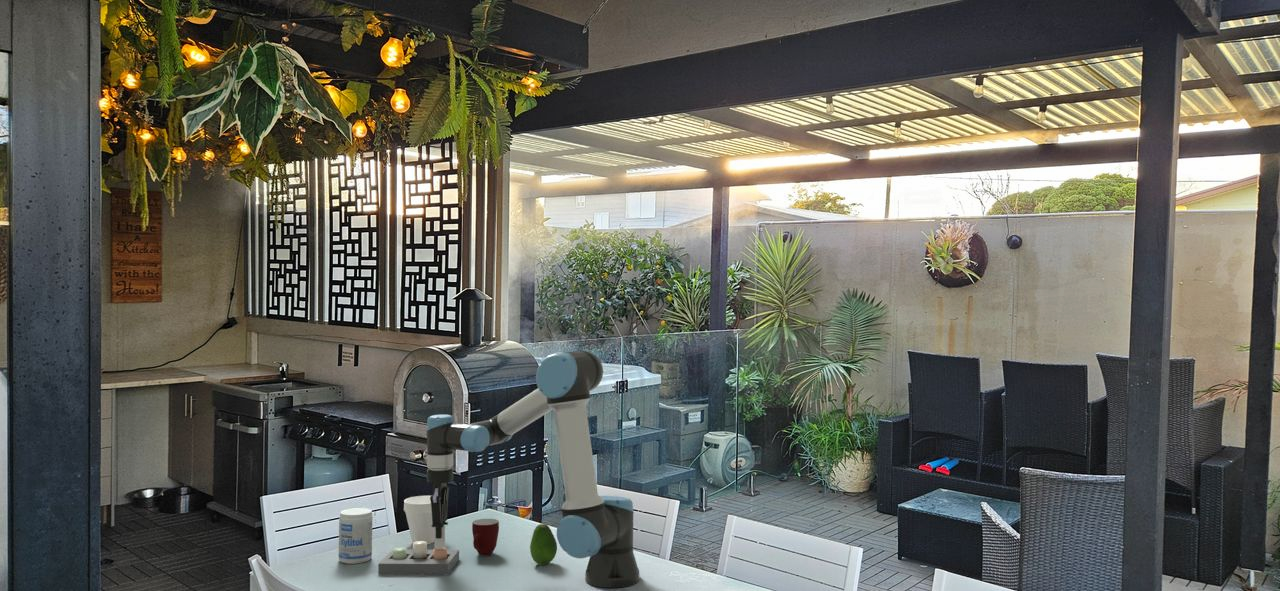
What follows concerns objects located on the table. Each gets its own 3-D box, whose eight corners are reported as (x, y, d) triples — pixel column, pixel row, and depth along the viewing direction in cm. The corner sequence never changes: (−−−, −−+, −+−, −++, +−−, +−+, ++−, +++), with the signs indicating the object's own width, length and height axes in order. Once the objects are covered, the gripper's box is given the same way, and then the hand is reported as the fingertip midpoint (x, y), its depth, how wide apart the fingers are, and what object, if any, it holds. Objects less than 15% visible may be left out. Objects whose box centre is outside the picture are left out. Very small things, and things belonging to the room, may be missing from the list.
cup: (396, 545, 277) (396, 502, 278) (416, 535, 289) (416, 494, 289) (430, 548, 274) (430, 505, 274) (449, 538, 286) (449, 496, 286)
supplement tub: (337, 566, 256) (338, 516, 256) (339, 557, 265) (339, 508, 265) (372, 563, 259) (372, 513, 259) (372, 554, 268) (372, 506, 268)
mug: (490, 561, 260) (490, 527, 260) (464, 559, 262) (464, 526, 262) (502, 551, 271) (502, 519, 271) (478, 549, 272) (478, 517, 272)
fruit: (562, 563, 258) (562, 523, 258) (545, 570, 252) (545, 528, 252) (542, 558, 263) (542, 519, 263) (524, 565, 256) (524, 524, 256)
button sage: (408, 561, 257) (408, 547, 257) (404, 565, 253) (404, 551, 253) (395, 560, 257) (394, 547, 257) (390, 565, 253) (390, 551, 253)
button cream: (428, 554, 257) (428, 541, 257) (424, 558, 253) (424, 544, 253) (415, 554, 257) (414, 540, 257) (411, 558, 253) (411, 544, 253)
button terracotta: (448, 560, 257) (448, 547, 257) (445, 565, 253) (445, 551, 253) (435, 560, 257) (435, 547, 257) (431, 564, 253) (431, 551, 253)
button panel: (459, 559, 262) (459, 549, 262) (447, 574, 248) (447, 563, 248) (393, 559, 262) (393, 549, 262) (378, 574, 248) (378, 563, 248)
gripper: (433, 463, 262) (432, 542, 262) (421, 472, 249) (420, 554, 249) (457, 463, 262) (457, 542, 262) (447, 472, 249) (447, 555, 249)
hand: (439, 548), depth 255 cm, fingers closed
